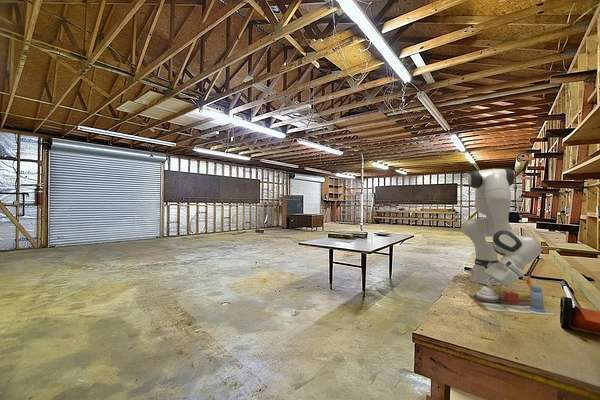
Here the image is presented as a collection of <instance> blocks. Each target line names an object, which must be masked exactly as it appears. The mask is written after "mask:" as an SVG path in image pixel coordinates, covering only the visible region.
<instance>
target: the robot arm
mask: <svg viewBox="0 0 600 400" xmlns="http://www.w3.org/2000/svg"><path fill="white" fill-rule="evenodd" d="M515 179H516V175H515V172H514V171H513V170H512V169H511V168H490V169H489V168H488V169H480V170H478V169H477V170H476V169H475V170H472V171H471V172H469V174H468V177H467V182H468V185H469V187H470V188H472V189H475V192H474V194H475V195H474V209H475V210H476V212H478V213H479V214H482V215H485V218H471V219H465V220H463V221H462V223H461V227H460V229H461V232H462V233H463V235H465V236H466V237H468V238H469V239H470V241H471V242H472V243H473V246H474V250H475V258H474V265H473V266H472V267H471V268H470V269H469V273H470V274H467V278H468V277H469V278H468V280H469V282H471V281H472V283H478V284H483V285H486V286H488V287H490V288H492V287H493V286H500V285H503V286H505V287H509V286H511V285H513V284H514V283H515V282H516V281H518V280H519V278H522V277H525V276H524V275H525V272H524V271H523V270H524V269H525V267H526V266H527V265H528V264H531V263H532V262H533V261H535V259H537V258H538V256H540V255H541V253H542V251H543V247H542V245H541V243H539V241H537V240H536V239H535V238H533V237H531V236H523V235H519V234H516V233H513V232H512V231H511V230H512V226H511V223H509V217H510V216H509V215H510V210H511V206H512V192H511V186H512V185H513V184H514V183H515ZM486 237H487V238H488V237H489V238H490V237H492V242H489V241H487V240H486ZM498 255H500V256H502V257H501V258H500V259H498Z"/></svg>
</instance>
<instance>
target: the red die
mask: <svg viewBox="0 0 600 400" xmlns="http://www.w3.org/2000/svg"><path fill="white" fill-rule="evenodd" d="M504 297H505V300H506V301H508V302H515V303H519V298H520V297H519V293H517V292H516V291H509V290H504Z"/></svg>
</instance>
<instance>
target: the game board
mask: <svg viewBox="0 0 600 400" xmlns="http://www.w3.org/2000/svg"><path fill="white" fill-rule="evenodd" d="M467 296H468V297H469V298H470V299H471V300H472V301H473V302H474V303H475V304H476V305H477V306H478V307H480V309H482V311H486V312H487V311H488V312H500V313H514V314H525V315H526V314H528V315H541V316H552V317H553V316H554V317H556V316H557V315H556V314H554V313H553V312H551V311H550V310H548V309H546V312H536V311H532V310H530V306H531V299H529V298H528V297H518V298H519V303H515V302H508V301H506V300H505V296H499V299H498V300H486V299H481V298H479V297H477V296H476V293H475V294H467ZM492 315H494V316H496V314H495V313H494V314H492ZM505 316H509V315H507V314H506V315H505ZM518 317H521V318H522V316H518ZM531 318H535V317H532V316H531ZM544 319H545V320H548V318H544Z"/></svg>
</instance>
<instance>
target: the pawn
mask: <svg viewBox="0 0 600 400" xmlns="http://www.w3.org/2000/svg"><path fill="white" fill-rule="evenodd" d="M532 285H533V286H532V290H531V291H530V294H531V298H530V300H531V306H530V310H532V311H536V312H546V310H547V309H546V308H545V306H544V305H545V304H544V302H545V301H544V292H543V290H542V287H541V286H540V285H539V284H532Z"/></svg>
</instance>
